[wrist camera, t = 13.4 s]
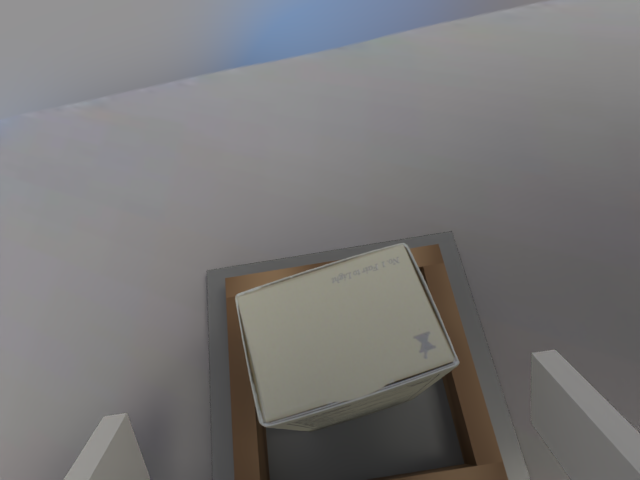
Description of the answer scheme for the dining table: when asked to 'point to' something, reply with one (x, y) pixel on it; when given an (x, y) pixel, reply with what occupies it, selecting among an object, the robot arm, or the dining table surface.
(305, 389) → the skincare box
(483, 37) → the dining table surface
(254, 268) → the slate tray
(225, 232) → the dining table surface
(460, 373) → the walnut collar
